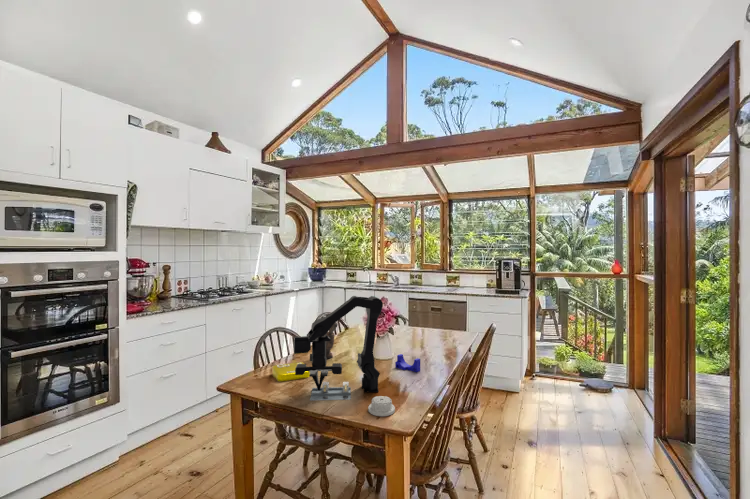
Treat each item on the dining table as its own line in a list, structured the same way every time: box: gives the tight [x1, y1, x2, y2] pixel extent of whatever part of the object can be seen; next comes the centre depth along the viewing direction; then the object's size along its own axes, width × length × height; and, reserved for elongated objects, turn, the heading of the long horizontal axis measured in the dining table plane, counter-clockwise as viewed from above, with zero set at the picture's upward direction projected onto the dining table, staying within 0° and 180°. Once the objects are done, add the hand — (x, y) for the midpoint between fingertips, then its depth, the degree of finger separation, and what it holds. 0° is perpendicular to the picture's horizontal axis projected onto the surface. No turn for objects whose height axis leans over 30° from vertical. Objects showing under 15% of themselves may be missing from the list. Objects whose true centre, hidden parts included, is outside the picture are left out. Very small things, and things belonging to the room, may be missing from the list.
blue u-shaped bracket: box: [394, 353, 421, 373], centre depth 188 cm, size 12×4×6 cm, turn 49°
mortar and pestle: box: [324, 322, 339, 360], centre depth 206 cm, size 12×9×20 cm
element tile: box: [272, 361, 311, 382], centre depth 177 cm, size 15×15×5 cm
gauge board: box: [309, 381, 352, 401], centre depth 154 cm, size 16×12×4 cm
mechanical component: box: [367, 395, 396, 417], centre depth 142 cm, size 10×4×10 cm
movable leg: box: [321, 381, 330, 393], centre depth 154 cm, size 2×8×4 cm, turn 4°
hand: (318, 389), depth 155 cm, fingers closed
